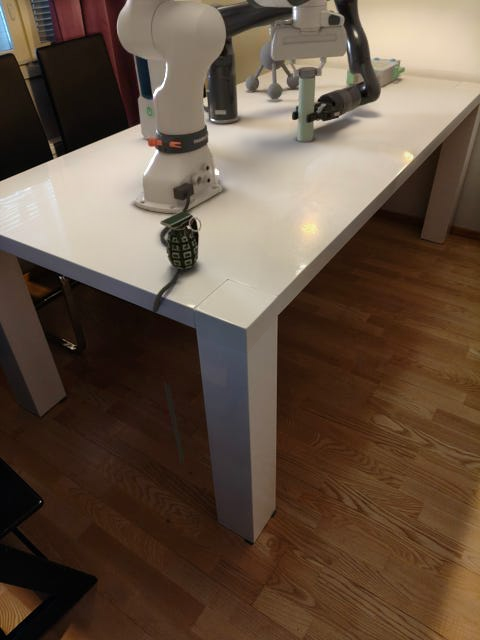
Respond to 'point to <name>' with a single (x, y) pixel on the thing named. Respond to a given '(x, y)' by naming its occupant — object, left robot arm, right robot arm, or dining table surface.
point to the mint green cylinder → (305, 107)
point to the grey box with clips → (380, 71)
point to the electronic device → (148, 92)
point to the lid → (307, 72)
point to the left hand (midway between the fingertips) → (307, 76)
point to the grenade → (182, 240)
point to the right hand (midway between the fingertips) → (300, 117)
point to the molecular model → (273, 65)
